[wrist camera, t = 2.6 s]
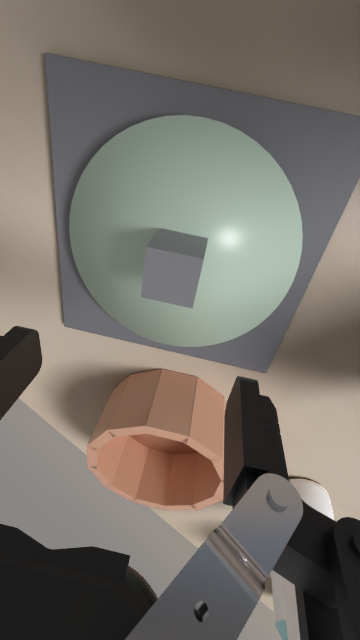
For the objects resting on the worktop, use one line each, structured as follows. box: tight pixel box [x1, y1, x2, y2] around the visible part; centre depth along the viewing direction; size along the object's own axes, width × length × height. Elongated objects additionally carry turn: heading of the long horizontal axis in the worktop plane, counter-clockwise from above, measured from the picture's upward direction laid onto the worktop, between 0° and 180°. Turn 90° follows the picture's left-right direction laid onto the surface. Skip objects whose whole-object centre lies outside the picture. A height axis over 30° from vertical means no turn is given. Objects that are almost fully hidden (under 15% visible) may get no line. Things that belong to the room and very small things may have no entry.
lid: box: [69, 115, 303, 347], centre depth 20 cm, size 17×17×5 cm
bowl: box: [87, 369, 226, 510], centre depth 31 cm, size 14×14×7 cm
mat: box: [45, 53, 360, 373], centre depth 22 cm, size 20×20×1 cm
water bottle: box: [281, 479, 334, 640], centre depth 28 cm, size 7×7×25 cm
